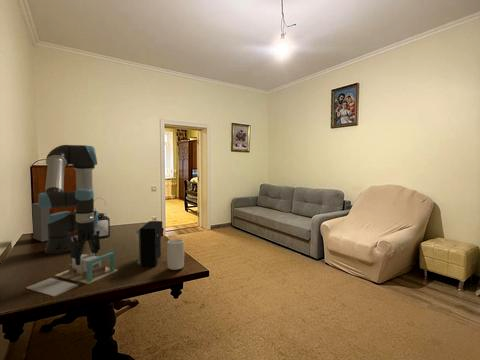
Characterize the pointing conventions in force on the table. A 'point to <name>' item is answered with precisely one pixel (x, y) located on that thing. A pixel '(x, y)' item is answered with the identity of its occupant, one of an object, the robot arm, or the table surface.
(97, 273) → the clamp base
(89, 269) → the teal arch
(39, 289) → the mat
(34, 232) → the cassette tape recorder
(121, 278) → the table surface
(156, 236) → the electrical component
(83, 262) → the white brown box
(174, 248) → the white can
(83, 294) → the table surface
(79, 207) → the robot arm
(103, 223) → the lantern
